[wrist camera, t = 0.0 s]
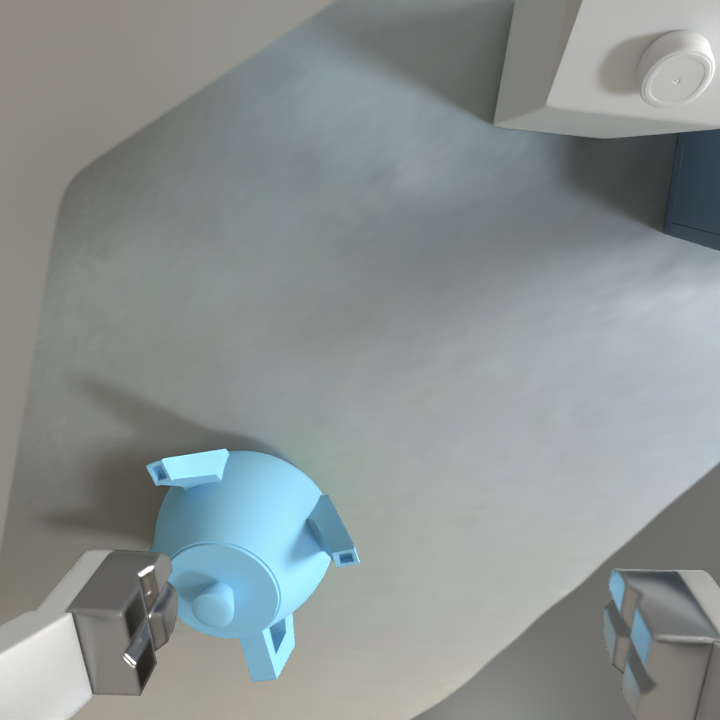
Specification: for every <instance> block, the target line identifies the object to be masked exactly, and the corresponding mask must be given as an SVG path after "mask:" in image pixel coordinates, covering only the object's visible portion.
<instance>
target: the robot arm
mask: <svg viewBox="0 0 720 720" xmlns="http://www.w3.org/2000/svg"><path fill="white" fill-rule="evenodd" d="M172 571H173V569H172V564H171V560H170V556H169V555H167V554H166V553H161V552H144V551H128V550H103V549H90V550H88V551H86V552H84V553H83V554H82V555H81V557H80V558H79V559H78V560H77V561H76V563H75V564H74V565H73V566H72V567H71V568H70V570H69V571H68V572H67V573H66V574H65V576H64V577H63V578H62V579H61V580H60V582H59V583H58V584H57V585H56V586H55V588H54V589H53V590H52V591H51V592H50V594H49V595H48V596H47V597H46V598H45V600H44V601H43V602H42V603H41V604H40V605H39V607H38V608H37V609H36V610H35V611H25V612H24V613H22V614H20V615H18V616H16V617H15V618H13V619H11V620H9V621H7V622H5V623H4V624H2V625H0V720H68V719H69V718H70V717H71V716H72V715H73V714H75V713H76V712H77V711H78V710H79V709H80V708H81V707H83V706H84V705H85V704H86V703H87V702H88V701H89V700H91V699H92V698H93V694H96V695H131V696H140V695H141V693H142V691H143V689H144V687H145V685H146V683H147V681H148V680H149V678H150V676H151V674H152V672H153V670H154V668H155V666H156V664H157V661H156V656H155V651H156V650H158V649H159V648H160V647H162V646H163V645H165V644H166V643H167V642H168V640H169V638H170V636H171V634H172V632H173V630H174V626H175V622H176V617H177V613H178V598H177V591H176V589H175V588H174V587H173V586H172V585H171V583H170V582H169V581H168V578H169V576H170V574H171V573H172ZM608 588H609V591H610V593H611V595H612V598H613V600H612V601H611V602H610V603H609V604H608V605H607V606H606V607H605V610H604V619H603V628H604V640H605V644H606V648H607V652H608V655H609V657H610V660H611V663H612V665H613V666H614V667H615V668H617V669H618V670H619V671H620V672H621V673H622V674H623V675H624V676H623V683H622V691H623V693H624V696H625V698H626V701H627V703H628V706H629V708H630V711H631V713H632V716H633V718H634V720H720V588H719V587H718V585H717V584H716V583H715V581H714V580H713V579H712V577H711V576H710V575H709V574H708V573H707V572H705V571H703V570H672V571H669V570H636V569H613V570H612V572H611V574H610V578H609V583H608Z"/></svg>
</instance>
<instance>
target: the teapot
mask: <svg viewBox="0 0 720 720" xmlns="http://www.w3.org/2000/svg"><path fill="white" fill-rule="evenodd" d="M146 467H147V469H148V471H149V473H150V475H151V477H152V479H153V481H154V483H155V484H156V486H159V485H170V486H171V487H170V488H169V490H168V492H167V494H166V496H165V498H164V500H163V502H162V505H161V508H160V511H159V514H158V518H157V521H156V527H155V535H154V545H153V546H152V547H151V548H150V550H149V551H148V552H161V553H166V554H167V555H169V556H170V560H171V564H172V569H173V571H172V573H171V574H170V576H169V578H168V581H169V582H170V583H171V585H172V586H173V587H174V588H175V589H176V591H177V598H178V613H177V616H178V617H179V618H180V619H181V620H182V621H183V622H185V623H186V624H187V625H189V626H190V627H192V628H193V629H195V630H197V631H199V632H202V633H204V634H207V635H210V636H214V637H219V638H239V640H240V643H241V646H242V649H243V652H244V656H245V659H246V662H247V665H248V669H249V672H250V675H251V678H252V682H258V681H265V680H273V679H277V678H278V676H279V674H280V672H281V670H282V668H283V667H284V665H285V663H286V661H287V659H288V657H289V655H290V654H291V652H292V650H293V648H294V646H295V640H294V628H293V616H292V612H293V611H295V610H296V609H297V608H298V607H300V606H301V605H302V604H303V603H304V602H305V601H306V600H307V598H308V597H309V596H310V595H311V594H312V593H313V592H314V590H315V589H316V587H317V586H318V584H319V583H320V581H321V579H322V578H323V576H324V574H325V572H326V570H327V567H328V565H329V563H330V560H331V559H332V560H333V561H334V562H335V564H336V566H337V568H339V567H344V566H349V565H354V564H359V558H358V555H357V552H356V549H355V546H354V544H353V542H352V541H351V539H350V537H349V535H348V533H347V531H346V529H345V527H344V525H343V523H342V521H341V519H340V517H339V515H338V513H337V511H336V509H335V507H334V506H333V504H332V502H331V500H330V498H329V496H328V495H323V494H322V493H321V491H320V490H319V489H318V487H317V486H316V485H315V484H314V483H313V481H312V480H311V479H310V478H309V477H308V476H306V475H305V474H304V473H303V472H302V471H300V470H299V469H297V468H296V467H295V466H293V465H291V464H289V463H288V462H286V461H284V460H282V459H279V458H277V457H274V456H271V455H268V454H264V453H260V452H253V451H227V450H226V449H221V450H214V451H208V452H202V453H195V454H189V455H182V456H176V457H170V458H163V459H161V460H158V461H155V462H152V463H150V464H148V465H146Z"/></svg>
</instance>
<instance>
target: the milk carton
mask: <svg viewBox="0 0 720 720" xmlns="http://www.w3.org/2000/svg"><path fill="white" fill-rule="evenodd" d="M493 125H494V126H496V127H501V128H510V129H518V130H527V131H536V132H545V133H554V134H563V135H572V136H581V137H589V138H599V139H610V138H622V137H633V136H644V135H656V134H667V133H678V132H690V131H701V130H713V129H720V0H515V4H514V10H513V15H512V21H511V27H510V32H509V38H508V44H507V49H506V55H505V60H504V66H503V72H502V77H501V83H500V89H499V94H498V100H497V106H496V111H495V117H494V123H493Z"/></svg>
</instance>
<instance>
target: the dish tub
mask: <svg viewBox="0 0 720 720" xmlns="http://www.w3.org/2000/svg"><path fill="white" fill-rule="evenodd" d="M664 234H667V235H670V236H673V237H676V238H680V239H683V240H686V241H689V242H693V243H696V244H699V245H702V246H706V247H709V248H712V249H715V250H719V251H720V129H713V130H701V131H690V132H679V134H678V140H677V147H676V153H675V160H674V167H673V173H672V180H671V186H670V193H669V199H668V206H667V213H666V219H665V226H664Z"/></svg>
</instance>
